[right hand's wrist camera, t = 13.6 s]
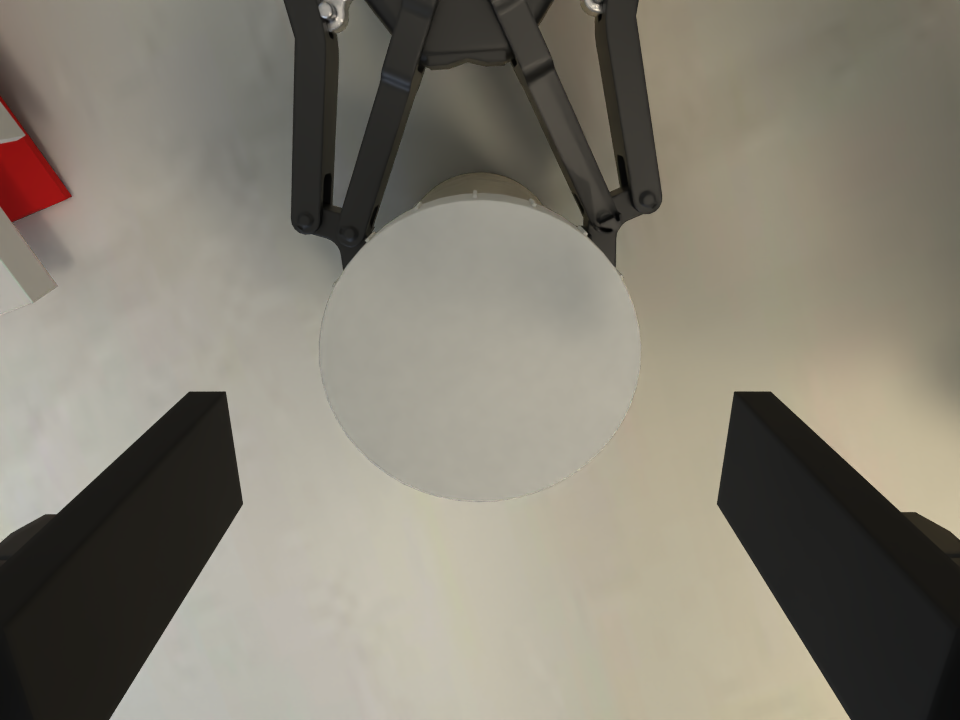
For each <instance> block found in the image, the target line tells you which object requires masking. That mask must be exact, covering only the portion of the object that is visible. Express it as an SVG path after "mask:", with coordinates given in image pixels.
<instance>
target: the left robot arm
mask: <svg viewBox="0 0 960 720" xmlns="http://www.w3.org/2000/svg"><path fill="white" fill-rule="evenodd" d="M352 1H353V0H284V3H285V6H286V10H287V13H288V17H289V20H290V23H291V27H292V30H293V33H294V37H295V60H294V105H293V151H292V196H291V221H292V225H293V227H294V228H295V230H297V231H298V232H299V233H302V234H305V235H306V234H313V235H317V236H320V237H324V238H327V239H329V240H331V241H333V242H334V243H335V244H336V245H337V246H338V248H339V250H340V253H341V258H342V265H343V271H344V269H345V268H346V266H347V265H348V263H349V262H350V261H351V260H352V259H353V258H354V256H355V255H356V254H357V253H358V252H359V250H360V249H361V248H362V247H363V246H364V245H365V244H366V243H367V242H366V241H365V240H366V239H367V238H368V237H369V236H370V235H371V234H372V231H373V229H374V228H375V227H374V223H375V220H376V216H377V213H378V210H379V207H380V204H381V201H382V198H383V195H384V191H385V188H386V185H387V182H388V179H389V176H390V173H391V170H392V167H393V163H394V160H395V157H396V154H397V151H398V148H399V145H400V142H401V138H402V135H403V132H404V129H405V126H406V123H407V120H408V117H409V114H410V110H411V107H412V104H413V101H414V98H415V95H416V93H417V91H418V88H419V86H420V83H421V80H422V77H423V74H424V71H425V68H426V67H427V68H430V69H431V70H442V69H451V68H453V67H456V66H459V65H461V64H464V63H473V64H478V65H482V66H486V67H487V66H503V65H505V63H507V62H511V64H512V66H513V69H514V71H515V73H516V75H517V77H518V79H519V81H520V83H521V85H522V86H523V88H524V90H525V92H526V95H527V97H528V99H529V101H530V103H531V105H532V108H533V110H534V112H535V114H536V116H537V118H538V120H539V123H540V125H541V127H542V129H543V131H544V133H545V136H546V138H547V140H548V142H549V144H550V146H551V149H552V151H553V153H554V155H555V157H556V159H557V162H558V164H559V166H560V168H561V170H562V172H563V175H564V177H565V179H566V181H567V183H568V185H569V188H570V190H571V192H572V194H573V196H574V198H575V200H576V203H577V205H578V207H579V209H580V211H581V213H582V216H583V226H581V227H582V228H583V229H584V230H585V231H586V232H587V233H588V235H587V237H588V238H589V239H590V240H591V241H592V242H593V243H594V244H595V245H596V246H597V247H598V248H599V249H600V250H601V251H602V252H603V253H604V255H605V256H606V257H607V258H608V260H609V261H610V262H611V263H612V265H613V266H614V267H615V268H616V236H617V232H618V230H619V229H620V227H621V225H622V224H623V223H625V222H626V221H628V220H630V219H633V218H635V217H637V216H640V215H642V214H650V213H653V212H655V211H656V210H657V209H658V208H659V207H660V205H661V202H662V192H661V185H660V178H659V171H658V164H657V157H656V150H655V143H654V136H653V130H652V123H651V116H650V109H649V102H648V95H647V88H646V81H645V74H644V67H643V61H642V54H641V47H640V40H639V33H638V26H637V19H636V13H637V7H638V1H639V0H580V4H581V7H582V9H583V11H584V12H585V13H586V14H588V15H590V16H594V17H595V39H596V47H597V53H598V59H599V65H600V71H601V77H602V83H603V89H604V95H605V101H606V107H607V113H608V119H609V125H610V131H611V137H612V143H613V149H614V155H615V161H616V167H617V173H618V179H619V185H620V188H618V189H615V190H613V191H611V192H609V190H608V188H607V186H606V183H605V181H604V179H603V177H602V174H601V172H600V170H599V168H598V165H597V163H596V161H595V158H594V156H593V154H592V152H591V149H590V147H589V145H588V143H587V140H586V138H585V136H584V134H583V131H582V129H581V127H580V125H579V122H578V120H577V118H576V116H575V113H574V111H573V109H572V106H571V104H570V102H569V100H568V97H567V95H566V93H565V91H564V88H563V86H562V84H561V82H560V79H559V77H558V75H557V73H556V70H555V67H554V63H553V60H552V57H551V55H550V52H549V50H548V48H547V46H546V43H545V41H544V39H543V36H542V34H541V32H540V30H539V27H538V26H539V24H540V23H541V21H542V19H543V18H544V16H545V14H546V13H547V11H548V9H549V8H550V6H551V4H552V3H553V1H554V0H365V2H366V3H367V4H368V5H369V7H370V8H371V9H372V11H373V12H374V13H375V14H376V16H377V17H378V18H379V20H380V21H381V22H382V23H383V25H384V26H385V27H386V29H387V30H388V31H389V32H390V34H391V35H392V37H391V40H390V44H389V47H388V50H387V54H386V57H385V60H384V64H383V67H382V72H381V80H380V84H379V88H378V91H377V94H376V98H375V101H374V104H373V107H372V111H371V114H370V117H369V121H368V124H367V127H366V131H365V134H364V137H363V141H362V144H361V147H360V151H359V154H358V157H357V161H356V164H355V167H354V171H353V174H352V177H351V181H350V184H349V187H348V191H347V194H346V197H345V201H344V204H343V207H342V208H340V207H337V206H334V205H333V182H334V160H335V137H336V115H337V92H338V70H339V48H338V40H337V33H340V32H342V31H343V30H344V29H346V27H347V25H348V22H349V7H350V4H351V3H352ZM576 227H578V226H576Z"/></svg>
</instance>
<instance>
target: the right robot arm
mask: <svg viewBox="0 0 960 720" xmlns="http://www.w3.org/2000/svg"><path fill="white" fill-rule="evenodd" d="M242 505H243V501H242V494H241V488H240V481H239V475H238V468H237V462H236V455H235V449H234V442H233V436H232V429H231V423H230V416H229V410H228V403H227V397H226V392H188V393H187V394H186V395H185V396H184V397H183V398H182V399H181V400H180V401H179V402H178V403H176V404H175V405H174V406H173V407H172V408H171V409H170V410H169V411H168V412H167V413H166V414H165V415H164V416H162V417H161V418H160V419H159V420H158V421H157V422H156V423H155V424H154V425H153V426H152V427H151V428H150V429H148V430H147V431H146V432H145V433H144V434H143V435H142V436H141V437H140V438H139V439H138V440H137V441H135V442H134V443H133V444H132V445H131V446H130V447H129V448H128V449H127V450H126V451H125V452H124V453H123V454H121V455H120V456H119V457H118V458H117V459H116V460H115V461H114V462H113V463H112V464H111V465H110V466H109V467H107V468H106V469H105V470H104V471H103V472H102V473H101V474H100V475H99V476H98V477H97V478H96V479H94V480H93V481H92V482H91V483H90V484H89V485H88V486H87V487H86V488H85V489H84V490H83V491H82V492H80V493H79V494H78V495H77V496H76V497H75V498H74V499H73V500H72V501H71V502H70V503H69V504H68V505H66V506H65V507H64V508H63V509H62V510H61V511H60V512H59V513H58V514H45V515H43V516H42V517H40V518H38V519H36V520H34V521H33V522H31V523H29V524H27V525H25V526H24V527H22V528H20V529H18V530H16V531H15V532H13V533H11V534H10V535H9V536H8V537H6V538H5V539H4V540H3V541H2V542H1V543H0V720H109V719H110V718H111V716H112V714H113V713H114V711H115V709H116V708H117V706H118V705H119V703H120V701H121V700H122V698H123V697H124V695H125V693H126V692H127V690H128V689H129V687H130V685H131V684H132V682H133V680H134V679H135V677H136V676H137V674H138V672H139V671H140V669H141V668H142V666H143V664H144V663H145V661H146V660H147V658H148V656H149V655H150V653H151V651H152V650H153V648H154V647H155V645H156V643H157V642H158V640H159V639H160V637H161V635H162V634H163V632H164V630H165V629H166V627H167V626H168V624H169V622H170V621H171V619H172V618H173V616H174V614H175V613H176V611H177V610H178V608H179V606H180V605H181V603H182V601H183V600H184V598H185V597H186V595H187V593H188V592H189V590H190V589H191V587H192V585H193V584H194V582H195V581H196V579H197V577H198V576H199V574H200V572H201V571H202V569H203V568H204V566H205V564H206V563H207V561H208V560H209V558H210V556H211V555H212V553H213V552H214V550H215V548H216V547H217V545H218V543H219V542H220V540H221V539H222V537H223V535H224V534H225V532H226V531H227V529H228V527H229V526H230V524H231V523H232V521H233V519H234V518H235V516H236V514H237V513H238V511H239V510H240V508H241V506H242ZM717 505H718V506H719V508H720V510H721V511H722V513H723V514H724V516H725V518H726V519H727V521H728V523H729V524H730V526H731V527H732V529H733V531H734V532H735V534H736V535H737V537H738V539H739V540H740V542H741V543H742V545H743V547H744V548H745V550H746V552H747V553H748V555H749V556H750V558H751V560H752V561H753V563H754V564H755V566H756V568H757V569H758V571H759V572H760V574H761V576H762V577H763V579H764V581H765V582H766V584H767V585H768V587H769V589H770V590H771V592H772V593H773V595H774V597H775V598H776V600H777V601H778V603H779V605H780V606H781V608H782V610H783V611H784V613H785V614H786V616H787V618H788V619H789V621H790V622H791V624H792V626H793V627H794V629H795V630H796V632H797V634H798V635H799V637H800V639H801V640H802V642H803V643H804V645H805V647H806V648H807V650H808V651H809V653H810V655H811V656H812V658H813V660H814V661H815V663H816V664H817V666H818V668H819V669H820V671H821V672H822V674H823V676H824V677H825V679H826V680H827V682H828V684H829V685H830V687H831V689H832V690H833V692H834V693H835V695H836V697H837V698H838V700H839V701H840V703H841V705H842V706H843V708H844V709H845V711H846V713H847V714H848V716H849V718H850V719H851V720H960V540H959V539H958V538H957V537H956V536H955V535H953V534H952V533H951V532H950V531H948V530H947V529H945V528H943V527H941V526H939V525H937V524H936V523H934V522H932V521H930V520H928V519H927V518H925V517H923V516H921V515H919V514H918V513H916V512H900V511H899V510H898V509H897V508H896V507H895V506H894V505H892V504H891V503H890V502H889V501H888V500H887V499H886V498H885V497H884V496H883V495H882V494H881V493H880V492H878V491H877V490H876V489H875V488H874V487H873V486H872V485H871V484H870V483H869V482H868V481H867V480H866V479H864V478H863V477H862V476H861V475H860V474H859V473H858V472H857V471H856V470H855V469H854V468H853V467H851V466H850V465H849V464H848V463H847V462H846V461H845V460H844V459H843V458H842V457H841V456H840V455H839V454H837V453H836V452H835V451H834V450H833V449H832V448H831V447H830V446H829V445H828V444H827V443H826V442H825V441H823V440H822V439H821V438H820V437H819V436H818V435H817V434H816V433H815V432H814V431H813V430H812V429H810V428H809V427H808V426H807V425H806V424H805V423H804V422H803V421H802V420H801V419H800V418H799V417H798V416H796V415H795V414H794V413H793V412H792V411H791V410H790V409H789V408H788V407H787V406H786V405H785V404H784V403H782V402H781V401H780V400H779V399H778V398H777V397H776V396H775V395H774V394H773V393H772V392H734V397H733V403H732V410H731V416H730V423H729V429H728V436H727V442H726V449H725V455H724V462H723V468H722V475H721V481H720V488H719V494H718V501H717Z"/></svg>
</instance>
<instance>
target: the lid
mask: <svg viewBox="0 0 960 720" xmlns="http://www.w3.org/2000/svg"><path fill="white" fill-rule="evenodd" d="M587 235H588V233H587V232H586V231H585V230H584V229H583V228H582V227H581V226H580V225H578V227H576V226H575V225H574V224H572V223H571V222H569V221H568V220H567V219H565V218H564V217H562V216H561V215H559V214H557V213H555V212H553V211H551V210H550V209H548V208H546V207H544V206H541V205H539V204H536V203H535V201H534V200H533V199H531V198H530V199H529V201H528V200H525V199H521V198H517V197H512V196H508V195H502V194H490V193H477V190H473V193H470V194H459V195H453V196H448V197H443V198H439V199H436V200H433V201H430V202H427V203H424V204H422V202H419V203H417V205H416V206H415V207H414V208H413V209H411V210H409V211H407V212H405V213H403V214H401V215H400V216H398V217H397V218H395V219H394V220H392V221H391V222H389V223H388V224H386V225H385V226H384V227H383V228H382V229H381V230H379V231H378V232H377V233H376V232H375V231H374V232H373V233H372V234H371V235H370V236H369V237H368V238H367V239H366V240H365V241H366V242H367V243H366V244H365V245H364V246H363V247H362V248H361V249H360V250H359V252H358V253H357V254H356V255H355V256H354V258H353V259H352V260H351V261H350V262H349V263H348V265H347V266H346V268H345V269H344V271H343V272H342V274H341V276H340V277H339V278H338V279H337V280H336V282H335V283H334V284H333V287H334V288H333V290H332V293H331V295H330V297H329V300H328V302H327V305H326V309H325V312H324V316H323V319H322V324H321V331H320V339H319V363H320V370H321V377H322V382H323V386H324V389H325V393H326V396H327V399H328V402H329V404H330V406H331V409H332V411H333V413H334V415H335V417H336V419H337V421H338V422H339V424H340V426H341V427H342V429H343V431H344V432H345V434H346V435H347V436H348V438H349V439H350V440H351V441H352V443H353V444H354V445H355V446H356V448H357V449H358V450H359V451H360V452H361V453H362V454H363V455H364V456H365V457H366V458H367V459H368V460H369V461H370V462H372V463H373V464H374V465H375V466H377V467H378V468H379V469H381V470H382V471H383V472H385V473H386V474H387V475H389V476H391V477H393V478H394V479H396V480H398V481H400V482H401V483H403V484H405V485H407V486H410V487H412V488H414V489H417V490H419V491H421V492H424V493H428V494H431V495H434V496H438V497H441V498H447V499H452V500H458V501H471V502H489V501H501V500H508V499H514V498H519V497H522V496H526V495H529V494H533V493H536V492H539V491H541V490H544V489H546V488H548V487H551V486H553V485H555V484H557V483H559V482H561V481H562V480H564V479H566V478H568V477H570V476H571V475H572V474H574V473H575V472H577V471H578V470H579V469H581V468H582V467H584V466H585V465H586V464H587V463H588V462H590V461H591V460H592V459H593V458H594V457H595V456H596V455H597V454H598V453H599V452H600V451H601V450H602V449H603V448H604V446H605V445H606V444H607V443H608V442H609V441H610V439H611V438H612V437H613V435H614V434H615V432H616V431H617V429H618V428H619V426H620V425H621V423H622V422H623V420H624V417H625V415H626V413H627V411H628V409H629V407H630V405H631V402H632V399H633V396H634V393H635V390H636V387H637V383H638V377H639V372H640V366H641V338H640V327H639V323H638V319H637V315H636V311H635V307H634V304H633V302H632V299H631V297H630V294H629V292H628V289H627V287H626V285H625V284H624V282H623V280H622V279H623V276H622V274H621V273H620V272H619V271H618V270H617V269H616V268H615V267H614V266H613V265H612V263H611V262H610V261H609V260H608V258H607V257H606V256H605V255H604V253H603V252H602V251H601V250H600V249H599V248H598V247H597V246H596V245H595V244H594V243H593V242H592V241H591V240H590V239H589V238H588V237H587Z"/></svg>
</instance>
